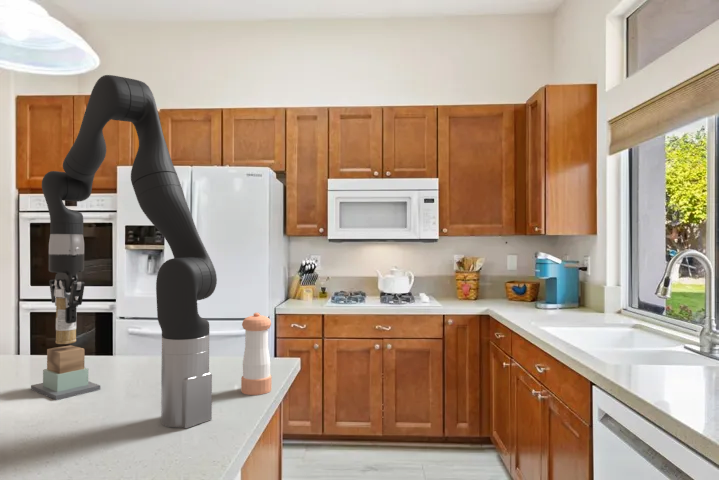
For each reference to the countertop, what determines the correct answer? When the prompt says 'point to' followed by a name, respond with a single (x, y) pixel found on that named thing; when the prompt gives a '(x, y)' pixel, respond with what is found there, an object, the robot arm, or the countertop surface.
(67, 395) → the build plate
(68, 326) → the sprinkles bottle
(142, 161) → the robot arm
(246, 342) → the salt shaker
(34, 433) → the countertop surface
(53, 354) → the walnut brick
